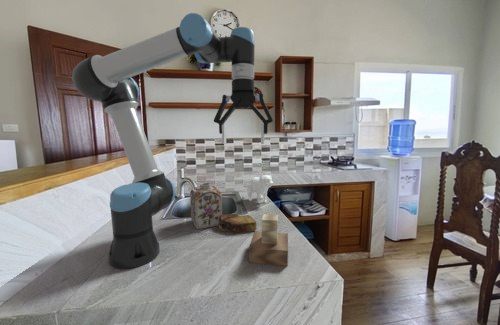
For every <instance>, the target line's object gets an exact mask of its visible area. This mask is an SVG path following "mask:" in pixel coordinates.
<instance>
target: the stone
mask: <svg viewBox="0 0 500 325" xmlns="http://www.w3.org/2000/svg"><path fill="white" fill-rule="evenodd" d="M219 223H220V224H219V225H218V229H219V230H220V231H222V232H230V233H232V232H233V233H234V232H235V233H245V232H254V231H255V230H256V231H257V221H256V220H255V219H254V218H253V217H252V216H251V215H241V214H240V215H238V214H222V215H220V218H219Z"/></svg>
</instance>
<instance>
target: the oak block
mask: <svg viewBox="0 0 500 325" xmlns="http://www.w3.org/2000/svg"><path fill="white" fill-rule="evenodd" d="M261 232H262V243H265V244H277V241H278V233H279V214H267V213H263V214H262V218H261Z"/></svg>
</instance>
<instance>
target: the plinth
mask: <svg viewBox="0 0 500 325" xmlns="http://www.w3.org/2000/svg"><path fill="white" fill-rule="evenodd" d="M288 261H289V234H288V233H287V232H278V241H277V244H265V243H262V231H258V230H256V231H253V235H252V237H251V240H250V243H249V247H248V262H249V263H252V264H254V263H255V264H263V265H271V266H272V265H275V266H282V267H283V266H284V267H288V263H289V262H288Z"/></svg>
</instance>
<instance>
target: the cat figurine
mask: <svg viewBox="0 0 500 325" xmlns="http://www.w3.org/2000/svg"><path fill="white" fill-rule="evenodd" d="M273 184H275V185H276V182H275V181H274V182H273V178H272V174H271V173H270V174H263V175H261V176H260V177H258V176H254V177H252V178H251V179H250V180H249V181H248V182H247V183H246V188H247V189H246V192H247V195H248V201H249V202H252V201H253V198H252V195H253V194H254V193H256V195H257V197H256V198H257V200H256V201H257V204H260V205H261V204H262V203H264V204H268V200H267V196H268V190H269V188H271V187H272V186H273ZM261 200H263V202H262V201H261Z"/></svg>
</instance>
